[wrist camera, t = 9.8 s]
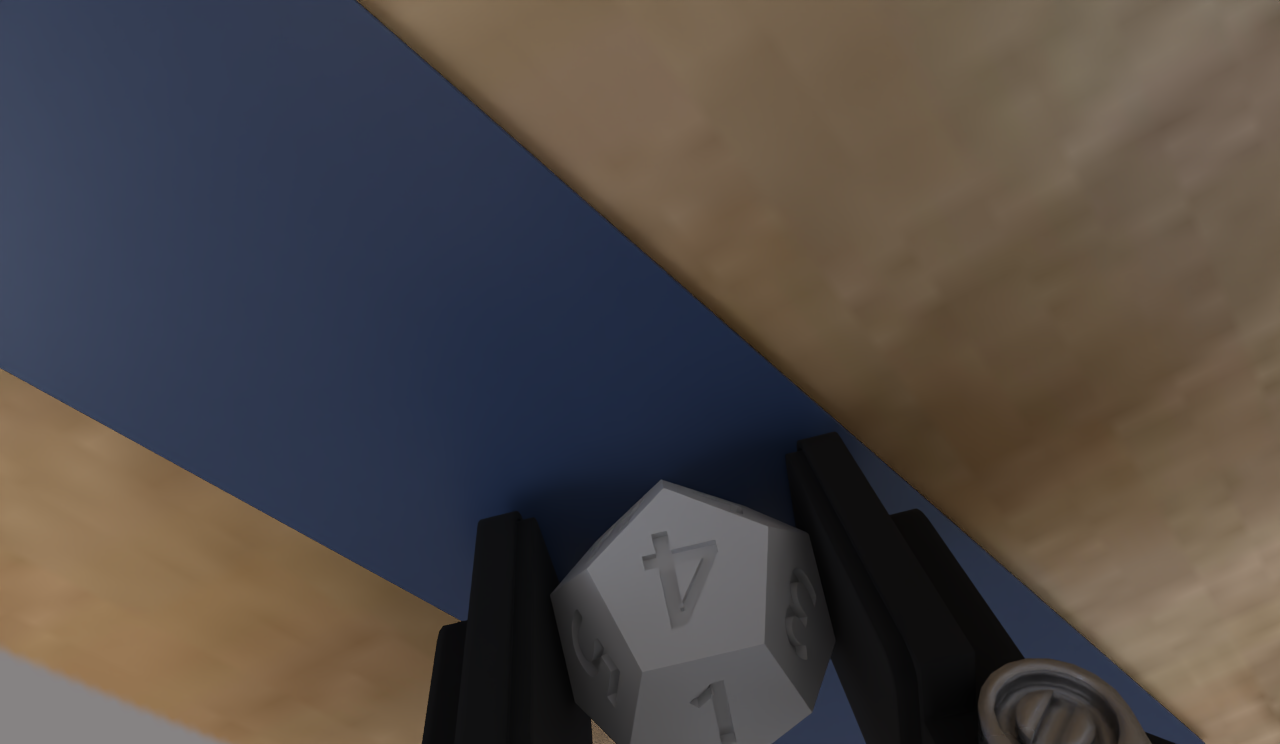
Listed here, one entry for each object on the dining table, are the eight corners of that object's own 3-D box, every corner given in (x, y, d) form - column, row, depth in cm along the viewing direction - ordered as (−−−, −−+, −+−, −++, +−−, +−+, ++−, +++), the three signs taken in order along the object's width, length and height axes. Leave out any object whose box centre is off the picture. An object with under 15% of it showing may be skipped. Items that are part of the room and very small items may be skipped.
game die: (586, 655, 12) (599, 843, 10) (524, 467, 11) (520, 634, 8) (803, 604, 12) (875, 778, 10) (778, 408, 11) (858, 556, 8)
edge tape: (-149, -442, 6) (-159, -448, 6) (1203, 740, 16) (1206, 744, 15) (-400, 140, 8) (-411, 142, 8) (962, 892, 17) (964, 897, 17)
